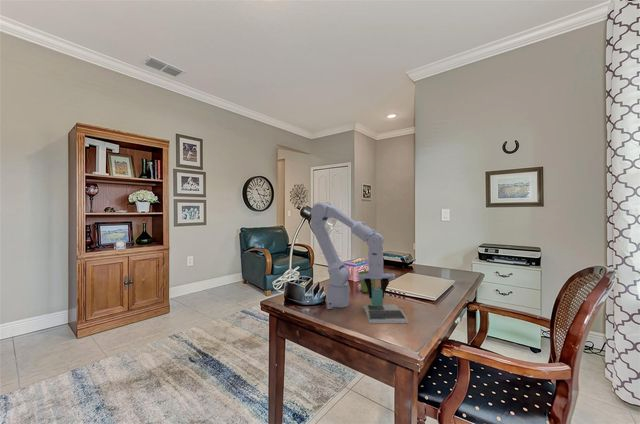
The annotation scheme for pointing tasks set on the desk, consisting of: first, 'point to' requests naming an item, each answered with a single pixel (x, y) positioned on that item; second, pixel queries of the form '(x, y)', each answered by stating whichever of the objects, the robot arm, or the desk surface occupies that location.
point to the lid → (381, 307)
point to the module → (377, 296)
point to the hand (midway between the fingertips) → (376, 297)
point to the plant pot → (363, 284)
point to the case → (386, 316)
